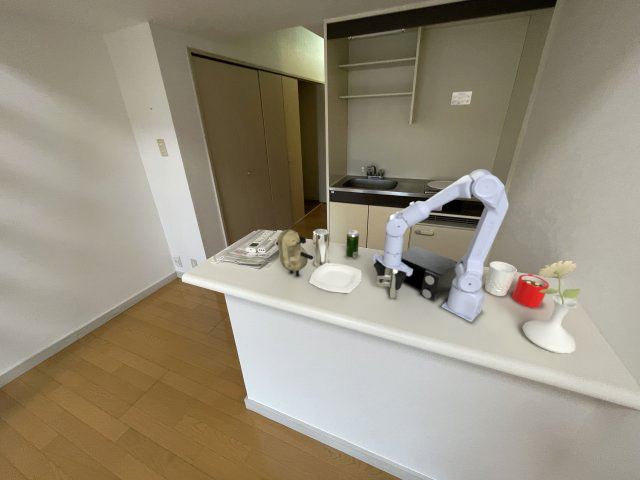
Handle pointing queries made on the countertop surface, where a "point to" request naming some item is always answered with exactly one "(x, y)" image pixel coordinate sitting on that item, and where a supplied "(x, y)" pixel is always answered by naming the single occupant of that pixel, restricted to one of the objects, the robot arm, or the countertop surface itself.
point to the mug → (529, 290)
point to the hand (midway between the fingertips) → (389, 284)
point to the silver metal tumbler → (320, 246)
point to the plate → (336, 277)
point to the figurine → (292, 251)
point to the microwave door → (390, 284)
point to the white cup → (499, 278)
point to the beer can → (352, 244)
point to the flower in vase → (554, 314)
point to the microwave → (428, 272)
